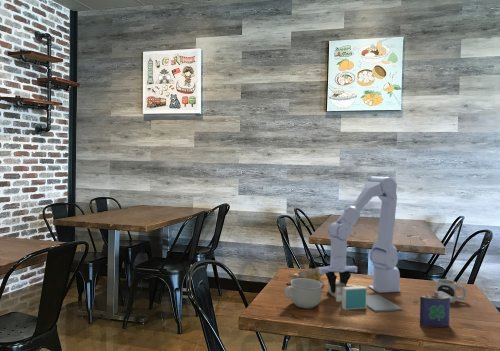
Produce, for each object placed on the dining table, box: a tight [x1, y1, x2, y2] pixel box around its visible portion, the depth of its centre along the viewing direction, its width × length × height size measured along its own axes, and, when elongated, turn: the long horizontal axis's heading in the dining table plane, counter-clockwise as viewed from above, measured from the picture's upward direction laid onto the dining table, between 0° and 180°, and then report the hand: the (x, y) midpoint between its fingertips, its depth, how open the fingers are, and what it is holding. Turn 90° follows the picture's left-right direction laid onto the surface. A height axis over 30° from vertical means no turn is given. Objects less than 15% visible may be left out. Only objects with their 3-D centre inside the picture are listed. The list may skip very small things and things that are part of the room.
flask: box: [419, 290, 451, 329], centre depth 129 cm, size 9×3×11 cm, turn 95°
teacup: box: [284, 278, 323, 309], centre depth 144 cm, size 14×11×8 cm
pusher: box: [327, 278, 353, 303], centre depth 156 cm, size 6×11×5 cm, turn 14°
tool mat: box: [366, 294, 403, 313], centre depth 149 cm, size 10×15×1 cm, turn 14°
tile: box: [341, 285, 368, 311], centre depth 144 cm, size 8×2×7 cm, turn 104°
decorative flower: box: [287, 266, 326, 285], centre depth 170 cm, size 15×11×10 cm
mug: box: [435, 278, 468, 304], centre depth 154 cm, size 10×7×7 cm
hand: (337, 291), depth 156 cm, fingers closed on pusher, 3 cm apart
